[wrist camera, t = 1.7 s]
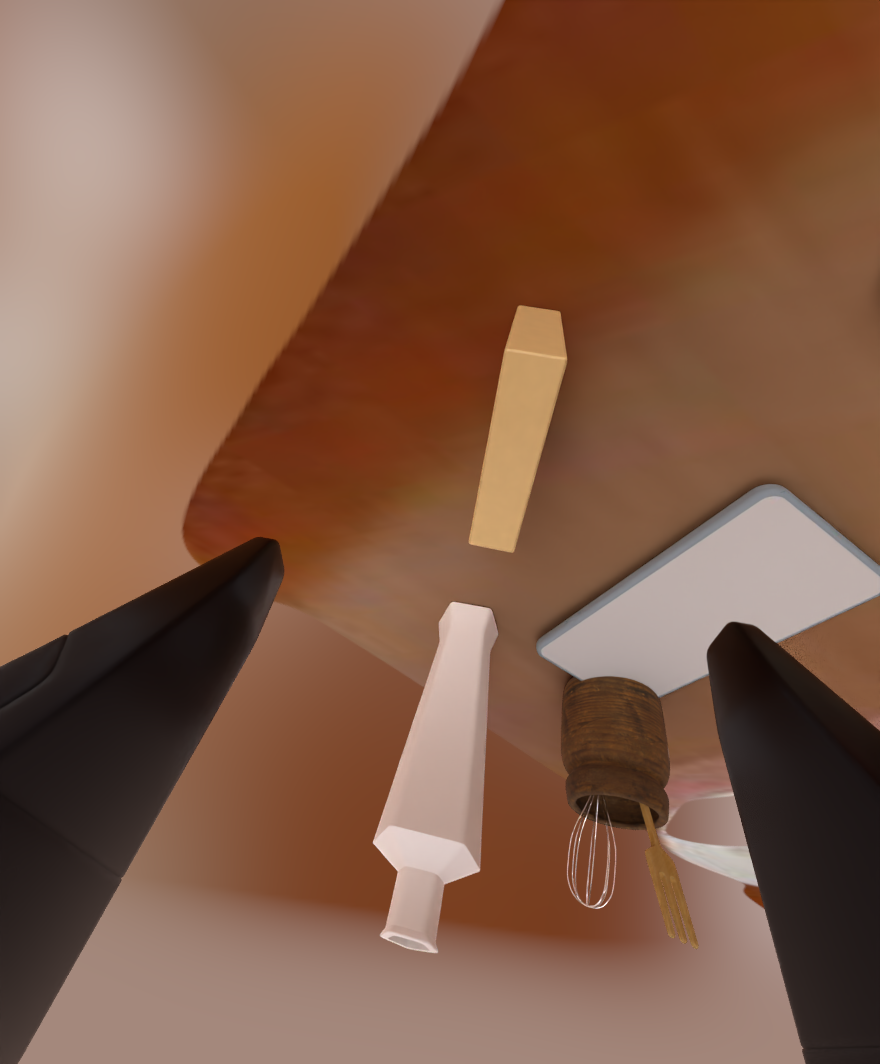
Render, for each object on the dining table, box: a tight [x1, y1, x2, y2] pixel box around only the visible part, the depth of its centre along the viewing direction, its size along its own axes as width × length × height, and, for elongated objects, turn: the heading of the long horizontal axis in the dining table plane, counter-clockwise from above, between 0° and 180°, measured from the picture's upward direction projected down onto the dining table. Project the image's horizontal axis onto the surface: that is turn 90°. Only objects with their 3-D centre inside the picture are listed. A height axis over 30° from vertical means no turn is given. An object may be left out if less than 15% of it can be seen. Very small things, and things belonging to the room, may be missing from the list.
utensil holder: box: [561, 676, 698, 949], centre depth 23 cm, size 6×6×12 cm
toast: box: [469, 305, 567, 553], centre depth 15 cm, size 6×2×6 cm, turn 174°
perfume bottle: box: [373, 602, 498, 953], centre depth 21 cm, size 5×4×15 cm
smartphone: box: [536, 484, 880, 698], centre depth 22 cm, size 8×1×15 cm
